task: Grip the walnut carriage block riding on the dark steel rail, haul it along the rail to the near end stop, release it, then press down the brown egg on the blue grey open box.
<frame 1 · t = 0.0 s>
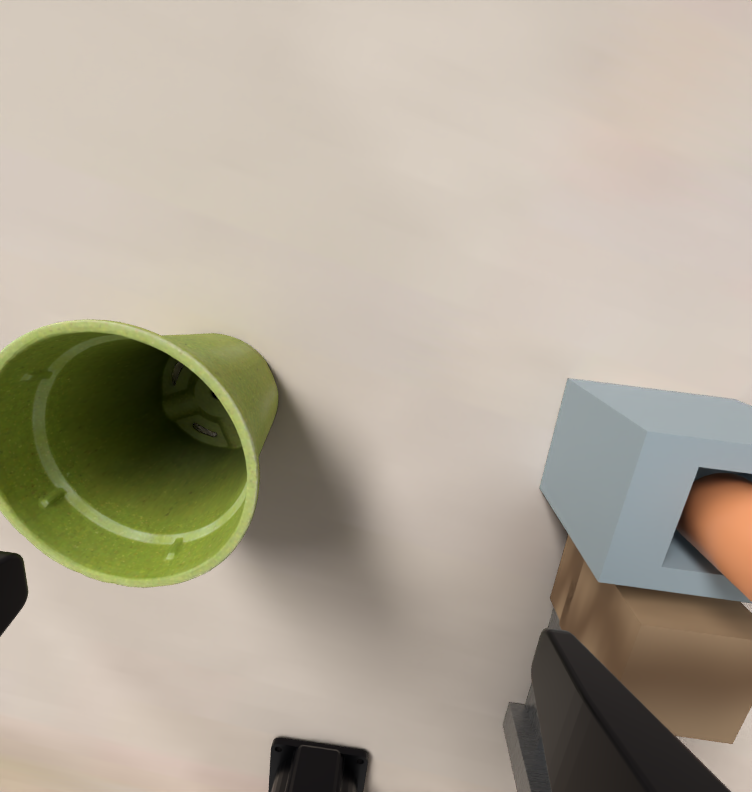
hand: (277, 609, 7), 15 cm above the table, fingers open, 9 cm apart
rail: (581, 605, 24), on the table
carriage: (641, 618, 19), point 4 cm above the table, slide at 0.0 cm
blue grey open box: (632, 445, 21), on the table
plant pot: (224, 391, 22), on the table
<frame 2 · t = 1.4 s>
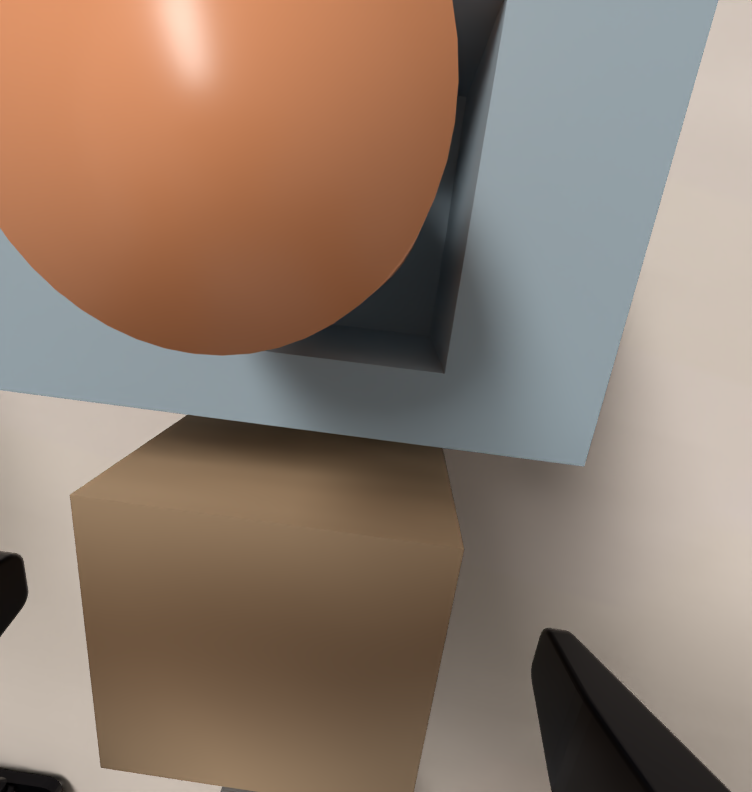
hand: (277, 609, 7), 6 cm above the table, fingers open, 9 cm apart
carriage: (307, 535, 9), point 4 cm above the table, slide at 0.0 cm
brown egg: (279, 166, 4), point 8 cm above the table, slide at 0.0 cm
blue grey open box: (359, 231, 11), on the table
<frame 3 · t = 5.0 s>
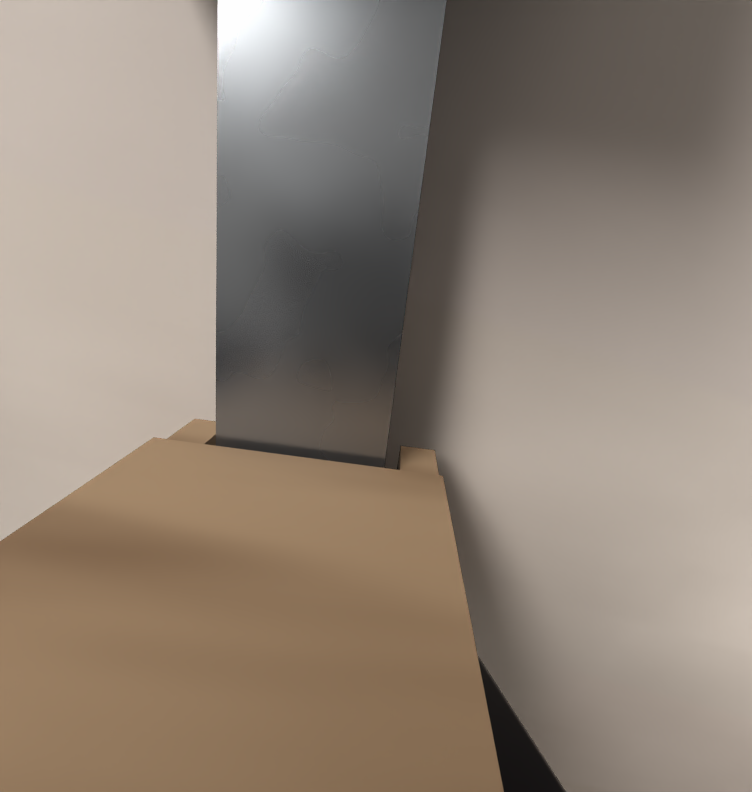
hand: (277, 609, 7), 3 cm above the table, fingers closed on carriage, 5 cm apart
rail: (333, 310, 9), on the table
carriage: (258, 659, 6), point 4 cm above the table, slide at 8.2 cm, touching gripper
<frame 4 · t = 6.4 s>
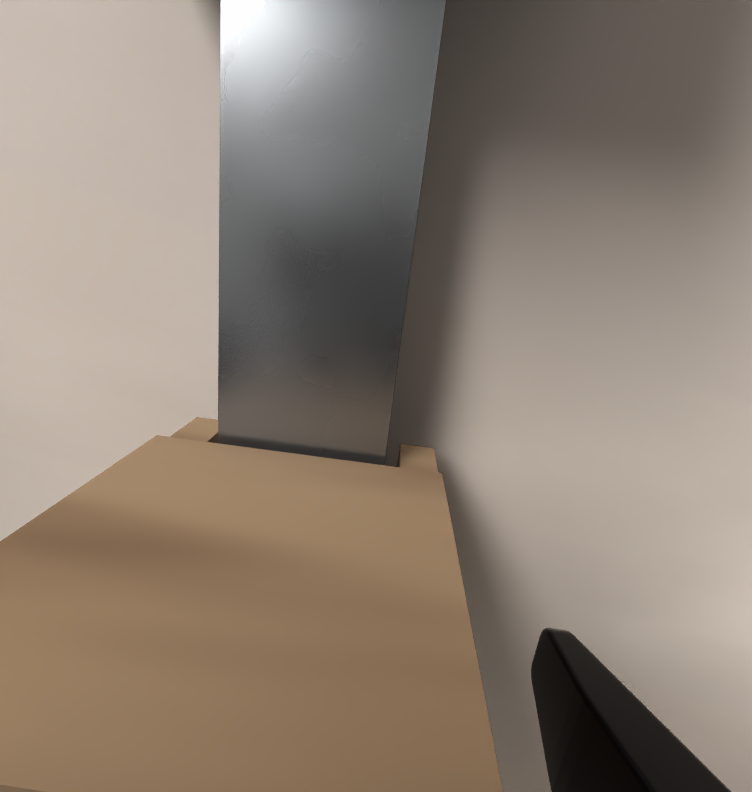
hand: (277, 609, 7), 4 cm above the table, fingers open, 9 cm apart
rail: (333, 309, 9), on the table
carriage: (260, 653, 6), point 4 cm above the table, slide at 8.2 cm
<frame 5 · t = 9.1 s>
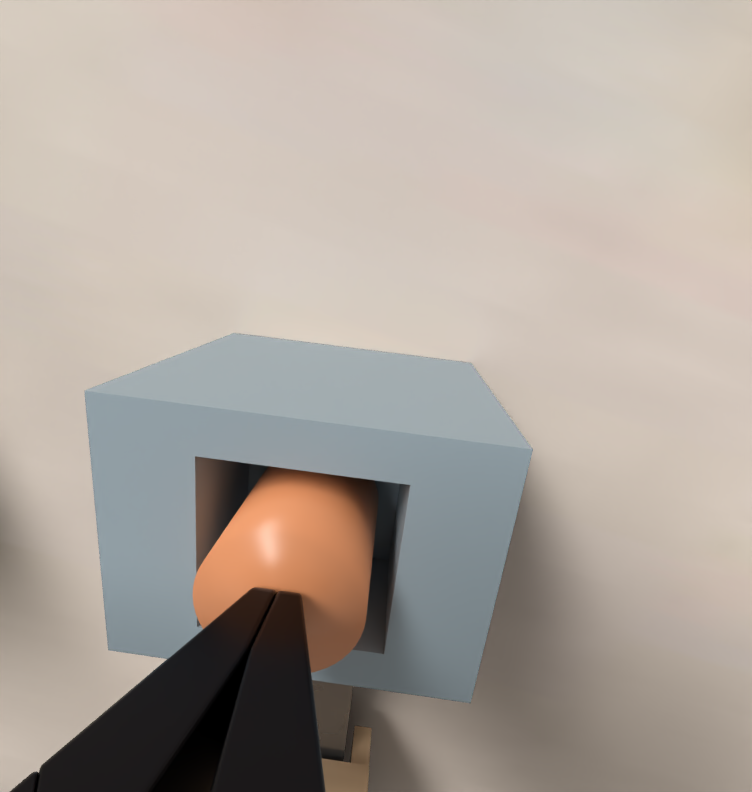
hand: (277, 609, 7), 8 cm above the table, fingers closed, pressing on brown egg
rail: (321, 648, 18), on the table
brown egg: (302, 542, 9), point 6 cm above the table, slide at 1.3 cm, touching gripper
blue grey open box: (343, 430, 15), on the table
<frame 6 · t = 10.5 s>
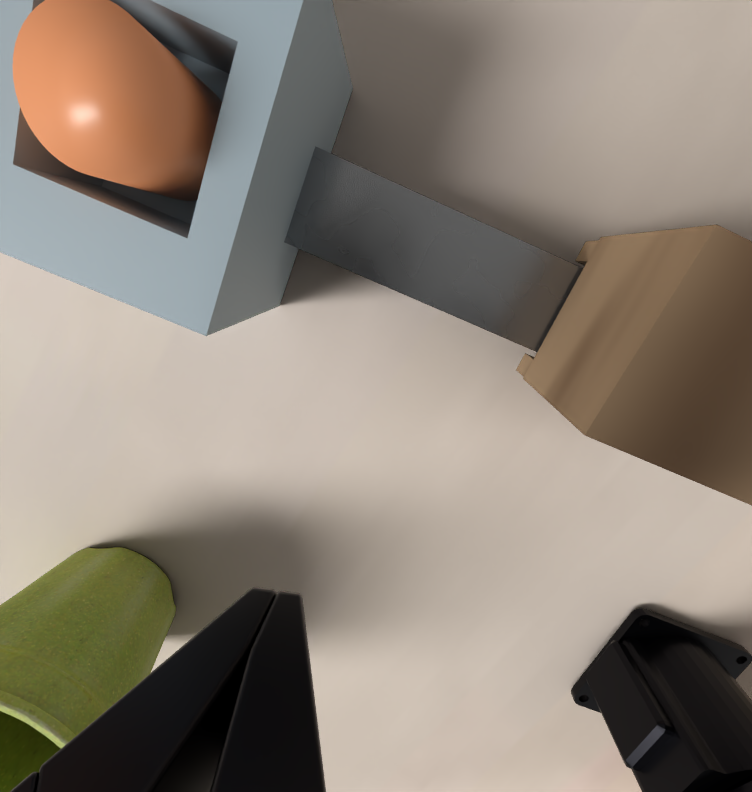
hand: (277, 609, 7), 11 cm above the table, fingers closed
rail: (482, 280, 16), on the table
carriage: (656, 351, 13), point 4 cm above the table, slide at 8.2 cm
brown egg: (144, 119, 10), point 6 cm above the table, slide at 1.6 cm
blue grey open box: (236, 171, 16), on the table
plant pot: (122, 588, 22), on the table
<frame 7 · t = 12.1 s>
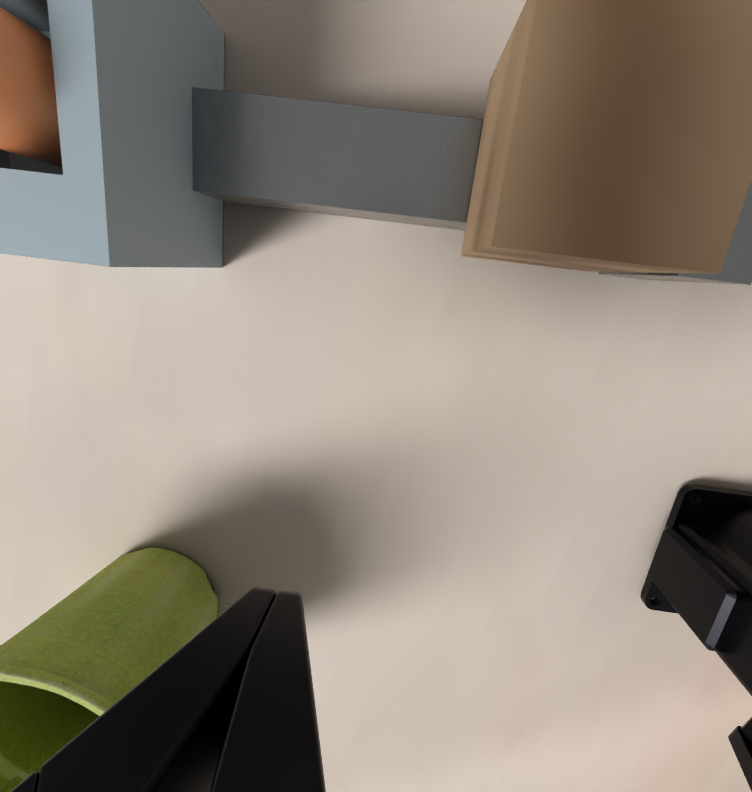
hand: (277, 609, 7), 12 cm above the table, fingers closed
rail: (404, 180, 16), on the table
carriage: (575, 167, 12), point 4 cm above the table, slide at 8.2 cm
brown egg: (5, 84, 11), point 6 cm above the table, slide at 1.6 cm
blue grey open box: (146, 150, 16), on the table
plant pot: (166, 590, 23), on the table
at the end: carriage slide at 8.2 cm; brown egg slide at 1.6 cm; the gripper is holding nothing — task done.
